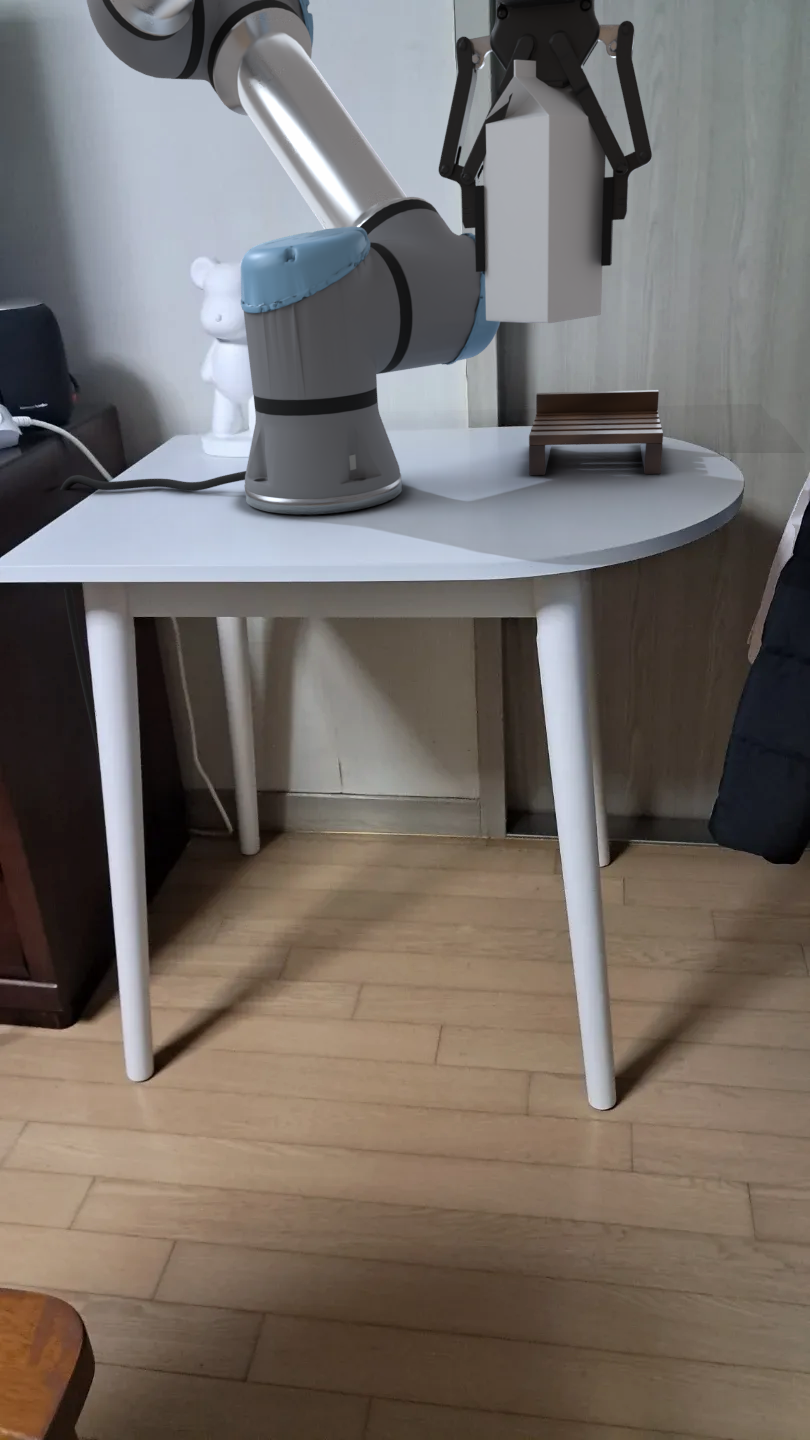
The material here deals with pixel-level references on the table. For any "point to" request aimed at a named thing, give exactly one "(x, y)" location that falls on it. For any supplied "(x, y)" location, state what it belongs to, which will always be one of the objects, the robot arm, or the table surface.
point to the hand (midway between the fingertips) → (543, 267)
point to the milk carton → (542, 205)
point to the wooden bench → (596, 424)
